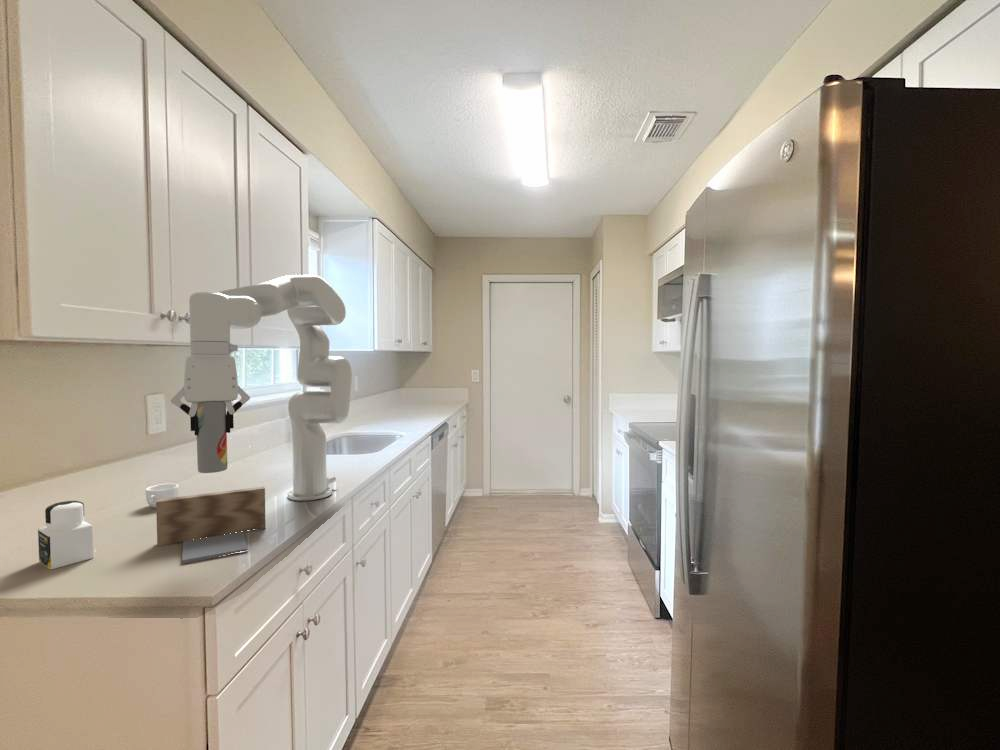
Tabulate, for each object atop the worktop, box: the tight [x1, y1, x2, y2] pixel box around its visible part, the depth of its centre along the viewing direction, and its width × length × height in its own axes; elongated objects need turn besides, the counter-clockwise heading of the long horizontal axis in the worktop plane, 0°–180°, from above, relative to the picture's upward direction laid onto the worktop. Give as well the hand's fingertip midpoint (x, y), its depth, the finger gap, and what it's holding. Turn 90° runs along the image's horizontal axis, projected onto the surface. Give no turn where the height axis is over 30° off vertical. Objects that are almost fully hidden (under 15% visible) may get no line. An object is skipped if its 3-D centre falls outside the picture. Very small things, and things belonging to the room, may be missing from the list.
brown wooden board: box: [155, 486, 266, 547], centre depth 117 cm, size 22×2×10 cm, turn 121°
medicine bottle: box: [37, 500, 95, 571], centre depth 103 cm, size 7×7×12 cm
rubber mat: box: [181, 532, 249, 565], centre depth 110 cm, size 12×12×1 cm
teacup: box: [145, 483, 180, 509], centre depth 139 cm, size 10×8×5 cm
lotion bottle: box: [196, 401, 228, 474], centre depth 109 cm, size 6×6×20 cm
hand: (212, 432), depth 109 cm, fingers closed on lotion bottle, 5 cm apart
